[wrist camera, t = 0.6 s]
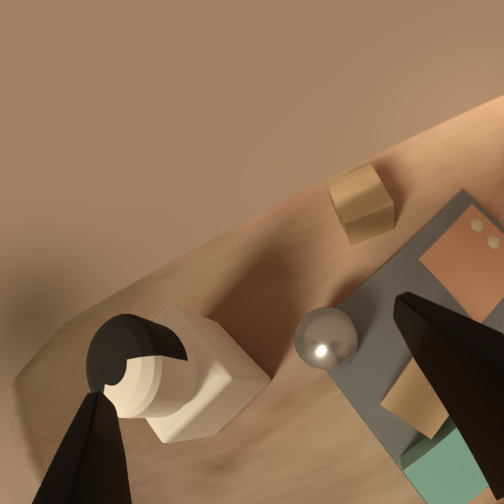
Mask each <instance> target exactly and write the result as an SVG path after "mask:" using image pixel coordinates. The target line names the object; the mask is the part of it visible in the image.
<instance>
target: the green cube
mask: <svg viewBox="0 0 504 504" xmlns="http://www.w3.org/2000/svg"><path fill="white" fill-rule="evenodd" d="M400 460H401V465H402V470H403V472H404V473H405V474H406V476H407V477H408V478H409V480H410V481H411V482H412V484H413V485H414V486H415V487H416V489H417V490H418V491H419V493H420V494H421V495H422V497H423V498H424V499H425V501H426V502H427V503H428V504H467V503H468V502H469V501H470V500H472V499H473V498H474V497H475V496H477V495H478V494H479V493H480V492H481V491H483V490H484V489H485V488H486V487H487V486H489V485H488V483H487V481H486V479H485V477H484V475H483V474H482V472H481V470H480V468H479V466H478V464H477V463H476V461H475V459H474V456H473V455H472V453H471V451H470V450H469V448H468V446H467V444H466V443H465V441H464V439H463V437H462V436H461V434H460V432H459V431H458V429H457V427H456V426H455V424H454V422H453V421H452V419H451V417H449V418H447V419H446V420H445V421H444V423H443V424H442V426H441V427H440V428H439V430H438V431H437V432H436V434H435V435H434V436H433V438H432V439H430V438H429V437H427V436H426V437H425V438H424V439H422V440H421V441H420V442H419V443H417V444H416V445H415V446H413V447H412V448H411V449H409V450H408V451H407V452H405V453H404V454H403V455H401V456H400Z"/></svg>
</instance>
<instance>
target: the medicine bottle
mask: <svg viewBox="0 0 504 504" xmlns="http://www.w3.org/2000/svg"><path fill="white" fill-rule="evenodd" d="M86 372H87V380H88V384H89V387H90V390H91V392H93V391H101V392H103V393H104V395H105V396H106V397H107V398H108V399H109V400H110V401H111V402H112V403H113V404H114V406H115V408H116V410H117V416H118V417H120V418H146V420H147V421H148V423H149V424H150V426H151V427H152V428H153V430H154V431H155V433H156V434H157V436H158V437H159V438H160V440H161V441H162V442H164V443H171V442H178V441H184V440H190V439H196V438H202V437H207V436H212V435H215V434H217V433H218V432H219V431H220V430H221V429H222V428H223V427H224V426H225V425H226V424H227V423H228V422H230V421H231V420H232V419H233V418H234V417H235V416H236V415H237V414H238V413H239V412H240V411H241V410H242V409H243V408H244V407H245V406H246V405H247V404H248V403H249V402H250V401H251V400H252V399H253V398H254V397H255V396H256V395H257V394H258V393H259V392H260V391H261V390H262V389H263V388H264V387H265V386H266V385H267V384H268V383H269V382H270V377H269V376H268V375H267V374H266V373H265V372H264V371H263V370H262V369H261V368H260V367H259V366H258V365H257V364H256V363H255V362H254V360H253V359H252V358H251V357H250V356H249V355H248V354H247V353H246V352H245V351H244V350H243V349H242V348H241V347H240V346H239V345H238V344H237V343H236V342H235V340H234V339H233V338H232V337H231V336H230V335H229V334H228V333H227V332H226V331H225V330H224V329H223V328H222V326H221V325H220V324H219V323H217V322H215V321H212V320H210V319H208V318H205V317H203V316H201V315H198V314H196V313H194V312H192V311H189V310H187V309H185V308H183V307H181V306H178V305H176V304H174V303H170V304H169V305H168V306H167V307H166V308H165V309H164V310H163V311H162V313H161V314H160V315H159V316H158V317H157V318H156V320H155V321H154V322H152V321H149V320H147V319H144V318H141V317H139V316H136V315H133V314H121V315H117V316H115V317H113V318H111V319H109V320H108V321H107V322H106V323H104V324H103V325H102V326H101V327H100V328H99V329H98V331H97V332H96V334H95V335H94V337H93V339H92V341H91V344H90V346H89V350H88V354H87V361H86Z"/></svg>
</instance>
